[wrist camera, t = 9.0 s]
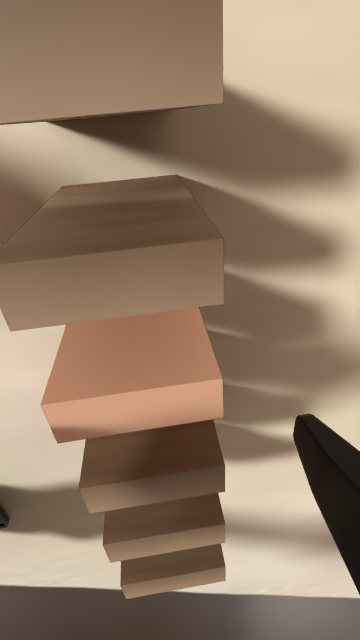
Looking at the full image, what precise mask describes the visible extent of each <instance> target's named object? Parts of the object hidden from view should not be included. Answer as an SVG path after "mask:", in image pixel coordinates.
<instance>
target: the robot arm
mask: <svg viewBox="0 0 360 640" xmlns="http://www.w3.org/2000/svg"><path fill="white" fill-rule="evenodd" d="M293 437H294V442H295V445H296V448H297V451H298V453H299V456H300V459H301V462H302V465H303V468H304V471H305V474H306V476H307V479H308V482H309V485H310V488H311V490H312V493H313V495H314V498H315V500H316V502H317V504H318V507H319V509H320V511H321V513H322V515H323V517H324V519H325V522H326V524H327V526H328V528H329V530H330V532H331V534H332V537H333V539H334V541H335V543H336V545H337V547H338V549H339V552H340V554H341V556H342V558H343V560H344V562H345V564H346V566H347V569H348V571H349V573H350V575H351V577H352V579H353V581H354V584H355V586H356V588H357V590H358V592H359V594H360V451H359V450H357V449H356V448H355V447H354V446H352V445H351V444H350V443H348V442H347V441H346V440H345V439H343V438H342V437H341V436H339V435H338V434H337V433H336V432H334V431H333V430H332V429H330V428H329V427H328V426H327V425H325V424H324V423H323V422H321V421H320V420H319V419H318V418H316V417H315V416H314V415H312V414H303V415H298V416H297V417H296V420H295V426H294V432H293ZM8 524H9V518H8V517H7V516H6V514H5V513H4V511H3V510H2V508H1V507H0V528H5V527H7V526H8Z"/></svg>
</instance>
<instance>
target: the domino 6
mask: <svg viewBox="0 0 360 640" xmlns="http://www.w3.org/2000/svg"><path fill="white" fill-rule="evenodd" d="M221 581H225V562H224V558H223V553H222V548H221V543H220V544H214V545H209V546H203V547H197V548H192V549H186V550H180V551H174V552H169V553H163V554H157V555H152V556H146V557H140V558H134V559H129V560H123V561H121V588H122V590H123V593H124V595H125V597H126V599H128V598H134V597H139V596H144V595H150V594H155V593H161V592H166V591H172V590H177V589H183V588H188V587H194V586H199V585H205V584H210V583H216V582H221Z"/></svg>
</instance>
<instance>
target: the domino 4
mask: <svg viewBox="0 0 360 640" xmlns="http://www.w3.org/2000/svg"><path fill="white" fill-rule="evenodd" d="M79 491H80V493H81V495H82V498H83V500H84V502H85V505H86V507H87V509H88V512H89V514H92V513H98V512H104V511H110V510H116V509H122V508H128V507H134V506H140V505H146V504H152V503H158V502H165V501H171V500H177V499H183V498H189V497H195V496H201V495H207V494H213V493H219V492H225V464H224V460H223V456H222V453H221V449H220V445H219V441H218V437H217V434H216V430H215V426H214V422H213V419H211V420H205V421H198V422H192V423H185V424H179V425H173V426H166V427H160V428H153V429H147V430H140V431H134V432H127V433H121V434H114V435H108V436H102V437H95V438H89V439H86V442H85V449H84V456H83V463H82V469H81V476H80V483H79Z"/></svg>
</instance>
